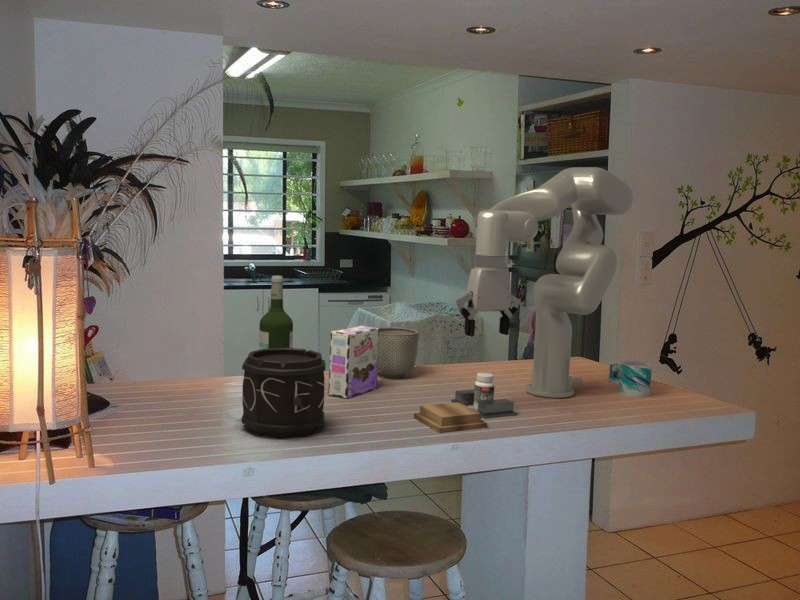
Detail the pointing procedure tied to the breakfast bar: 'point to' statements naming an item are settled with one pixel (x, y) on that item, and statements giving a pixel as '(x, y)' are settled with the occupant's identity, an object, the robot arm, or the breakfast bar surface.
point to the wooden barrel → (283, 392)
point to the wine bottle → (276, 321)
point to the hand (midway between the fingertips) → (486, 334)
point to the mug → (632, 378)
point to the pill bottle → (483, 388)
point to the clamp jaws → (486, 404)
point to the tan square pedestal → (450, 417)
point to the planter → (396, 351)
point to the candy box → (353, 361)
